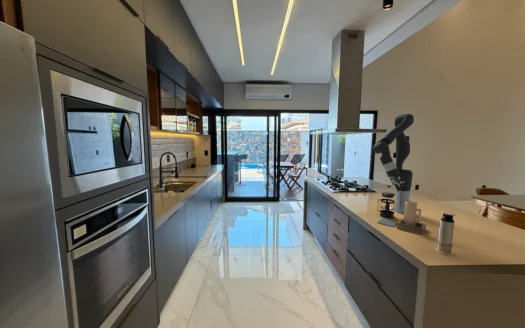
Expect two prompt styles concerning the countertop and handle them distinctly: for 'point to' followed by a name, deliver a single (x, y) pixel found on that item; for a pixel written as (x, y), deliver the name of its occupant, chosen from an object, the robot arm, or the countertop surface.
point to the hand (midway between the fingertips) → (401, 191)
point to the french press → (387, 204)
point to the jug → (411, 213)
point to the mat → (387, 222)
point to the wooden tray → (412, 227)
